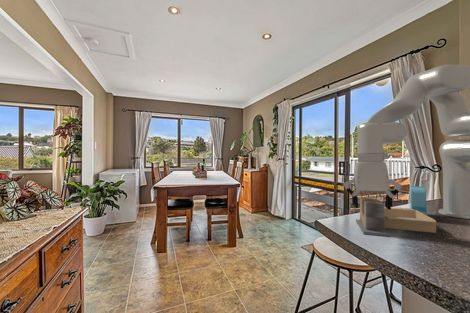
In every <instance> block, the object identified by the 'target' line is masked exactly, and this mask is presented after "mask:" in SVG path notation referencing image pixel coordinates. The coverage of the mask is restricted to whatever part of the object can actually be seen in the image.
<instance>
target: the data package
mask: <svg viewBox="0 0 470 313" xmlns="http://www.w3.org/2000/svg"><path fill="white" fill-rule="evenodd" d="M409 193H410V194H409V196H410V209H414V210H417V211H419V212H421V213H423V214H425V215H427V216H428V212H427V190H426V188H425V187H424V186H420V185H419V186H415V185H409Z"/></svg>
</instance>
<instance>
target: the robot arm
mask: <svg viewBox="0 0 470 313" xmlns="http://www.w3.org/2000/svg"><path fill="white" fill-rule="evenodd" d="M469 89H470V65H469V64H442V65H439V66H436V67H433V68H430V69H427V70H424V71H422V72H418V73H415V74H414V75H412V76H410V77H409V78H408V79H407V81H406V82H405V83H404V84H403V85H402V87H401V88H400V90H399V91H398V93H397V94H396V96H395V97H394V99H393V100H392V101H390V102H389V103H387V104H386V105H384V106H383V107H382V108H380V109H379V110H378V111H376V112H375V113H374V114H372V116H370V118H369V119H368V120H367V121H366V122H365V123H361V124H359V125H358V126H357V129H356V139H357V162H355V163H354V169H353V171H354V172H353V178H352V179H349V180H347V181H346V182H343V184H342V186H344V188H345V191H347V193H349V195H350V196H351V198H352V199H351V202H352V203H351V204H352V206H354V208H355V209H358V208H359V203H358V202H359V197H358V196H357V195H358V194H359V193H360V192H368V193H369V192H372V193H375V192H376V193H384V194H385V195H386V196H385V197H384V199H385V200H384V201H385V203H384V206H385V207H386V208H387V209H389V210H391V207H393V205H394V204H393V198H394V197H395V196H396V195H397V194H398V193H399V192H400V190H401V189H402V187H403V185H402V184H401V183H399V182H396V181H394V180H392V179H390V175H389V170H388V169H389V168H388V166H387V162H384V161H385V160H389V156H390V155H389V154H385V153H384V145H392V144H398V143H401V142H403V141H404V140H405V139H406V138H407V136H408V128H407V126H405V124H403V123H401V122H398V121H400V120H403V119H405V118H407V117H409V116H411V115H413V114H415V113H416V112H418V110H419V109H420V108H421V106H422V104H423V103H424V102H425V99H428V100H429V101H430V102H432V103H433V105H434V106H435V108H436V113H437V118H438V124H439V129H440V132H441V134H442V135H443V136H445V137H448V138H449V137H450V138H451V137H452V138H454V137H468V136H469V137H470V111H469V110H468V107H467V103H466V102H467V101H466V98H465V97H464V96H463V95H462V94H460V93H459V92H462V91H466V90H469ZM438 150H439V152H438V153H439V156H440V160H441V165H442V200H443V201H442V203H443V204H442V206H443V208H439V209H438V213H439V214H441V215H444V216H446V217H447V216H448V217H453V218H459V219H466V220H470V164H469V163H470V138H458V139H451V140H446V141H444V142H443V143H441V144H440V146H439V148H438ZM352 184H353V187H354V189H353V190H352V189H351V188H350V187H349V186H350V185H352ZM390 184H391V185H392V186H394V187H393V189H392V190H391V191H390V186H391V185H390Z"/></svg>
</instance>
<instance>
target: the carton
mask: <svg viewBox="0 0 470 313" xmlns="http://www.w3.org/2000/svg"><path fill="white" fill-rule="evenodd" d="M437 223H438V221H437V220H436V219H434V218H432V217H431V216H428V214H427V215H425V214H423V213H421V212H419V211H417V210H414V209H411V208H408V207H407V208H406V207H405V208H404V207H393V206H392V207H391V210H389V209H387V208H386V206H384V229H392V230H394V229H395V230H401V231H413V232H423V233H435V234H437Z"/></svg>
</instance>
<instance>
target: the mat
mask: <svg viewBox="0 0 470 313" xmlns="http://www.w3.org/2000/svg"><path fill="white" fill-rule="evenodd" d="M355 223H356V224H357V226H358V227H359V229H360V230H361V232H362V234H363V235H370V236H379V237H387V238H388V237H390V233H389V232H388V231H387V229H386V228H384V232H382V231H372V230H366V229H365V227H364V226H363V224H362V223H361V222H360V219H357V218H355Z"/></svg>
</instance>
